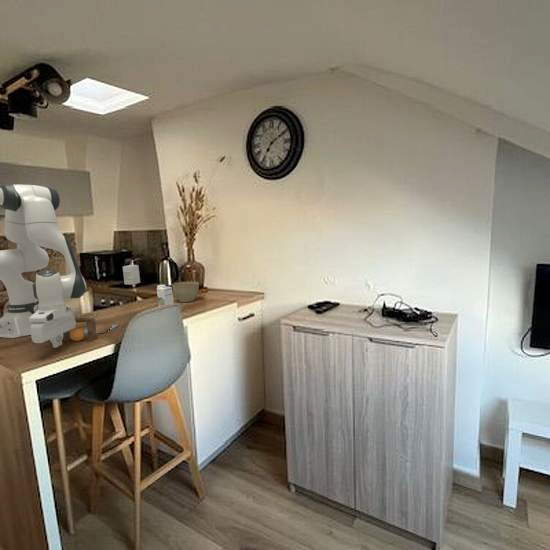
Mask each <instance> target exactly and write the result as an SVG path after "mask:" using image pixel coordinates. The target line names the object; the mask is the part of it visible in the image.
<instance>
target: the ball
mask: <svg viewBox="0 0 550 550" xmlns="http://www.w3.org/2000/svg"><path fill="white" fill-rule="evenodd" d="M84 330H85V329H84V328H81V327H75V328H74V329H71V330H70V340H73V341H75V342H79V341H82V340H83V339H84V338H85V336H86V334H85V332H84Z"/></svg>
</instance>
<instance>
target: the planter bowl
mask: <svg viewBox="0 0 550 550" xmlns="http://www.w3.org/2000/svg"><path fill="white" fill-rule="evenodd" d="M199 286H200V282H198V281H180V282H174V283H172V284H171V287H172V293H173V294H174V296H175V297H176V298H177V300H178V302H180V303H190V302H193V301H195V300H196V296H197V295H198V292H199V288H200V287H199Z"/></svg>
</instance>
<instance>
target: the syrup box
mask: <svg viewBox="0 0 550 550" xmlns="http://www.w3.org/2000/svg"><path fill="white" fill-rule="evenodd" d="M156 293H157V302H158V308H159V307H160V306H165V305H169V304H173V305H174V298H173V296H174V295H173V287H172V286H167V285H166V286H163V287H159V288H157V287H156Z"/></svg>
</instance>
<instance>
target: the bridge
mask: <svg viewBox="0 0 550 550" xmlns="http://www.w3.org/2000/svg"><path fill="white" fill-rule="evenodd" d="M75 321H76V323H86V329H87V331H88V334H87V339H88V341H95V340H96V338H97V339H98V334H97V332H96V325H97V323H96V318H95V317H93V316H92V317H75ZM70 333H71V331H70V330H69V331H67V332H65V333H63V339H62V340H66V341H68V340H70V339H71V337H70ZM69 338H70V339H69ZM67 339H68V340H67ZM94 339H95V340H94Z"/></svg>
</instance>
